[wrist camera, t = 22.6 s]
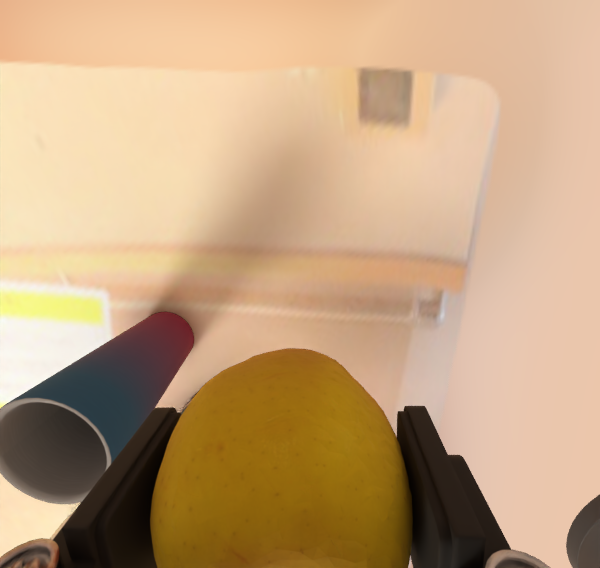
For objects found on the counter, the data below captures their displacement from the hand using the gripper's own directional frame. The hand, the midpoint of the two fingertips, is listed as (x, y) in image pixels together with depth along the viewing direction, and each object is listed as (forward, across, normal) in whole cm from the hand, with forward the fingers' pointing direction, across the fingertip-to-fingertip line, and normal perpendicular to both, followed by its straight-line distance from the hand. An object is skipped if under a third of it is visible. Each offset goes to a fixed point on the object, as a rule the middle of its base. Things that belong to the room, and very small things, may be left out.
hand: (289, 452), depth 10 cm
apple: (+3, 0, 0) cm, 3 cm away
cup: (+21, +14, +5) cm, 26 cm away
